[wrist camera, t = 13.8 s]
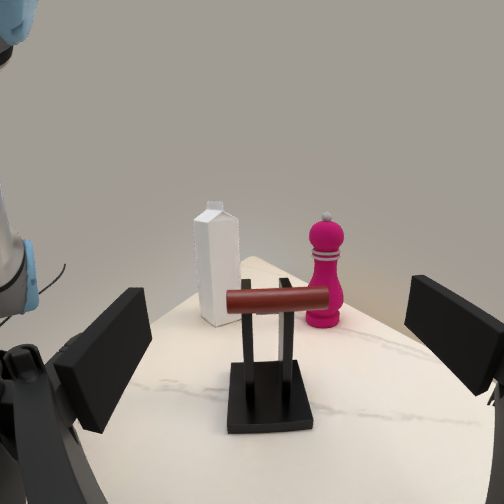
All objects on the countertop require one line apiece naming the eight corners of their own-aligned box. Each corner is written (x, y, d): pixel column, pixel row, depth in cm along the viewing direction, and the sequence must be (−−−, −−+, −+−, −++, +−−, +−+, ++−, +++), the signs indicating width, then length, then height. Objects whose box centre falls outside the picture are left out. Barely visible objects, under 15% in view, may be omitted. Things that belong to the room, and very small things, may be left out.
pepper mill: (305, 311, 56) (307, 209, 51) (341, 313, 54) (346, 210, 49) (300, 328, 49) (303, 213, 45) (341, 330, 47) (349, 214, 43)
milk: (215, 328, 50) (206, 203, 45) (200, 316, 55) (191, 202, 50) (243, 318, 54) (238, 200, 49) (226, 308, 59) (220, 199, 53)
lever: (330, 317, 16) (328, 276, 16) (226, 322, 16) (225, 280, 16) (294, 312, 30) (293, 289, 30) (237, 314, 30) (236, 291, 30)
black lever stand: (312, 428, 26) (326, 307, 23) (227, 433, 26) (214, 312, 22) (296, 367, 38) (300, 266, 34) (231, 370, 37) (224, 269, 34)
